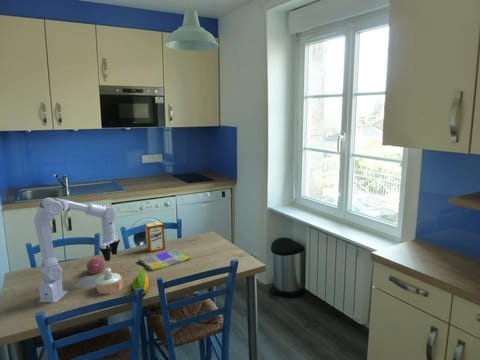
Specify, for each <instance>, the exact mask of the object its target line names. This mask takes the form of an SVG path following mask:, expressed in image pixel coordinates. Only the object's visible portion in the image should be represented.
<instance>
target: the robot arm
mask: <svg viewBox="0 0 480 360" xmlns="http://www.w3.org/2000/svg"><path fill="white" fill-rule="evenodd" d="M68 210H73V211H74V210H75V211H80V212H84V213H85V215H86V216H91V217H94V218H95V217H96V218H101V219H100V220H101V230H102V241H101V244H100V247H98V250H99V251H100V252H101V254H102V256H103V258H104V261H105V262H109V261H111V255H112V256H117V253H118V248H119V244H120V242H121V239H120V238H119V237H118V235H119V234H116V227H115V226H116V225H115V217H116V215H117V214H116V212H115V209H114V208H113V207H110V206H108V205H106V204H99V203H96V202H95V201H92V202H88V203H87V204H84V203H81V202H77V201H72V200H68V199H63V198H56V197H55V198H53V197H45V198H43V199H42V201H40V202H39V203H38V207H37V210H36V213H35V215H34V218H33V224H34V228H35V233H36V236H37V241H38V245H39V250H40V254H41V260H40V261H41V266H40V272H41V273H42V274H43V277H42V283H41V284H40V285H39V288H38V293H39V300H38V302H39V303H57V302H58V301H59V300H61V298H63V297H64V296H65V295H66V294H67V293H68V290H64V288H63V286H64V285H63V281H62V275H63V269H62V267H61V266H60V264H59V261H58V259H57V258H56V254H55V249H54V244H53V240H52V234H51V230H50V225H49V223H50V221H51V220H52V219H53V218H55V217H56V216H59V215H60V214H61V213H62V212H65V211H68Z"/></svg>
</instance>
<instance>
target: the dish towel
mask: <svg viewBox="0 0 480 360" xmlns="http://www.w3.org/2000/svg"><path fill="white" fill-rule="evenodd" d="M190 259H191V257H190V256H188V255H184V254H182V253H181V252H179V251H178V250H177V249H176V248H172V249H170V250H166V251H163V252H161V253H157V254H154V255H149V256H146V257H140V258H137V259H136V261H138V262H139V263H141V264H142V265H143V266H145V268H146V269H147V271H149V272H154V271H158V270H162V269H165V268H169V267H172V266H175V265H178V264H182V263H184V262H186V261H188V260H190Z"/></svg>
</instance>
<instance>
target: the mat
mask: <svg viewBox="0 0 480 360" xmlns="http://www.w3.org/2000/svg"><path fill="white" fill-rule="evenodd" d="M99 276H100V275H85V276H83V277H82V278H81V279H80V280H79V281H78V282H77V283H76V284H75V285H73V286H72V288H73V289H74V288H78V289H82V288H83V289H97V287H96V283H95V279H96V278H97V277H99Z"/></svg>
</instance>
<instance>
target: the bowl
mask: <svg viewBox="0 0 480 360" xmlns="http://www.w3.org/2000/svg"><path fill="white" fill-rule="evenodd" d="M96 287H97V288H96V291H97V292H98V293H99V294H100V295H111V294H114V293H117V292H119V291H121V290H122V288H123V287H124V281H123V277H122V276H121V279H120V280H119V281H118V282H116V283H114V284H111V285H98V284H96Z"/></svg>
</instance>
